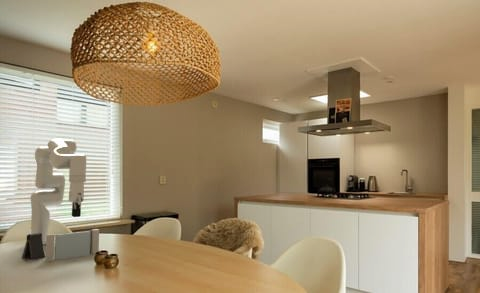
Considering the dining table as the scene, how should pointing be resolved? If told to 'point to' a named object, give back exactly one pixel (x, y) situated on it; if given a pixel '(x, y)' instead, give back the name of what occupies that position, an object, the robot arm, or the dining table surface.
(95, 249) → the hinge post
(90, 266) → the dining table surface
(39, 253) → the phone stand
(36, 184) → the robot arm
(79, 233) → the door
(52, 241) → the post
